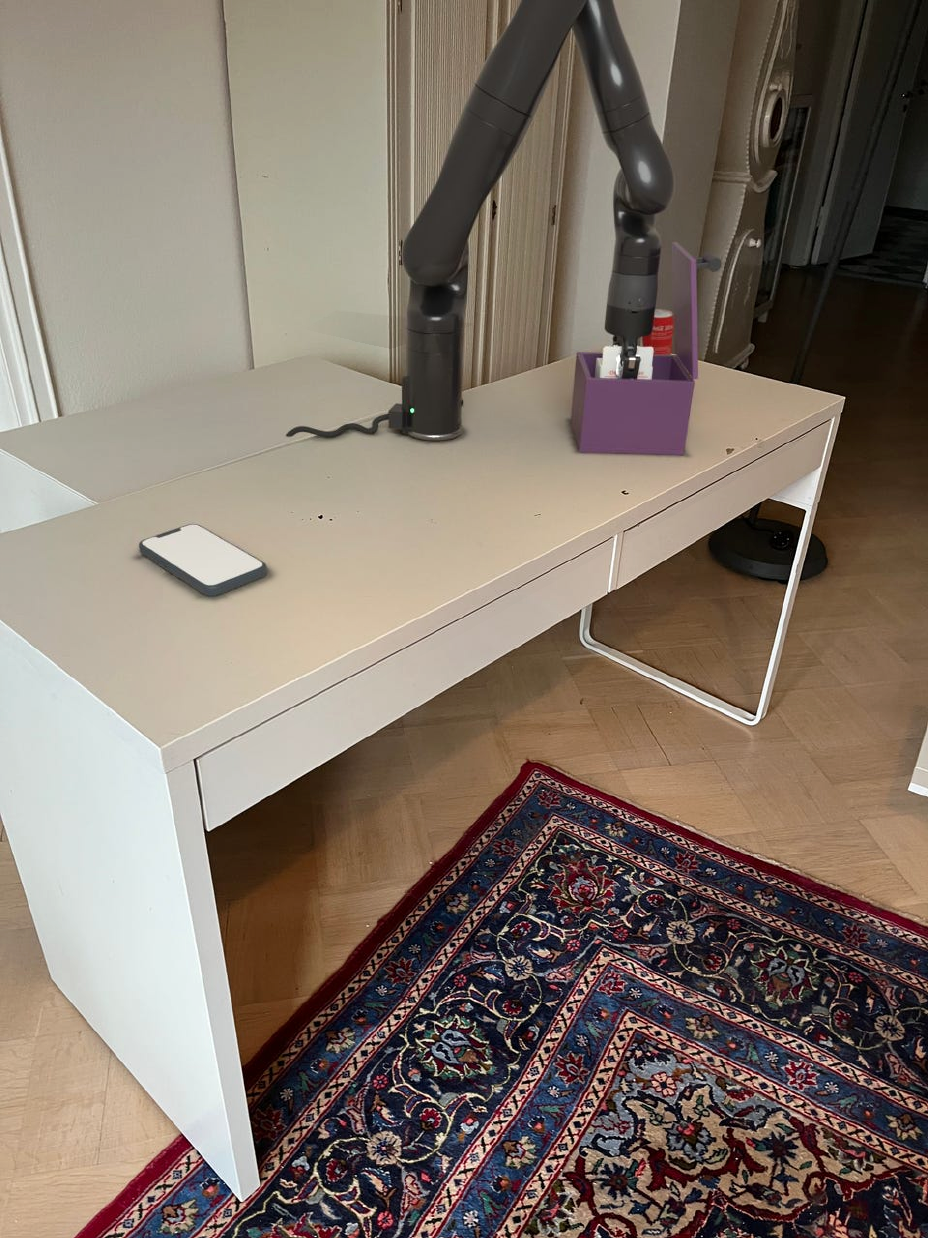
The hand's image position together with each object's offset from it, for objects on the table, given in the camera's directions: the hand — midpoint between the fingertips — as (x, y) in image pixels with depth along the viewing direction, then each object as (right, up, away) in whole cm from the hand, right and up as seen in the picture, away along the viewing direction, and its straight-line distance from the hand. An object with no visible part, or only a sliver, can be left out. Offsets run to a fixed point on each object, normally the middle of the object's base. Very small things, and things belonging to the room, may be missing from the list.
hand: (619, 407), depth 157 cm
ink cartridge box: (0, -4, +2) cm, 4 cm away
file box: (+1, -4, +3) cm, 5 cm away
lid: (+8, +13, -8) cm, 18 cm away
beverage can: (+10, +8, +24) cm, 27 cm away
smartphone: (-58, -28, -40) cm, 76 cm away
